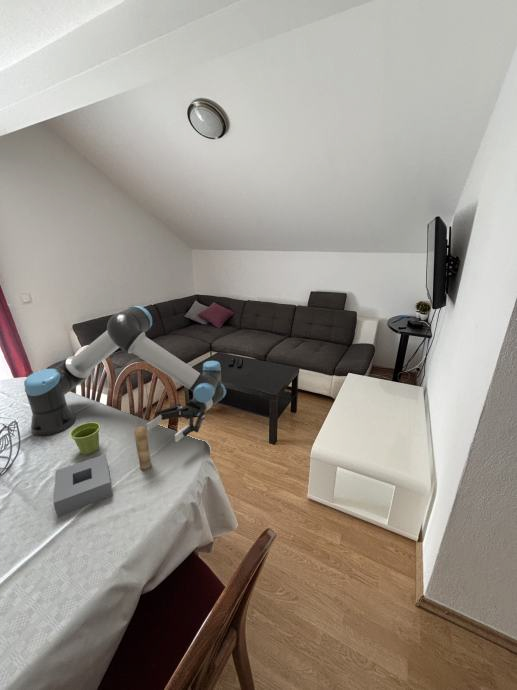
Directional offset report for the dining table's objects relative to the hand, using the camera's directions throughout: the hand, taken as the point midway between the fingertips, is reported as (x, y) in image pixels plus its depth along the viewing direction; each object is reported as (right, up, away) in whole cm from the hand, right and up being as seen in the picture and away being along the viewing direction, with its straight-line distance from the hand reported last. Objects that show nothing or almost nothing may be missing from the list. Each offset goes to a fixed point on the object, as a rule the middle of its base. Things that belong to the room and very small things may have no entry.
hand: (161, 432), depth 101 cm
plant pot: (-28, -8, +5) cm, 30 cm away
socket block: (-19, -14, -12) cm, 27 cm away
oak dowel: (-4, -11, -3) cm, 12 cm away
